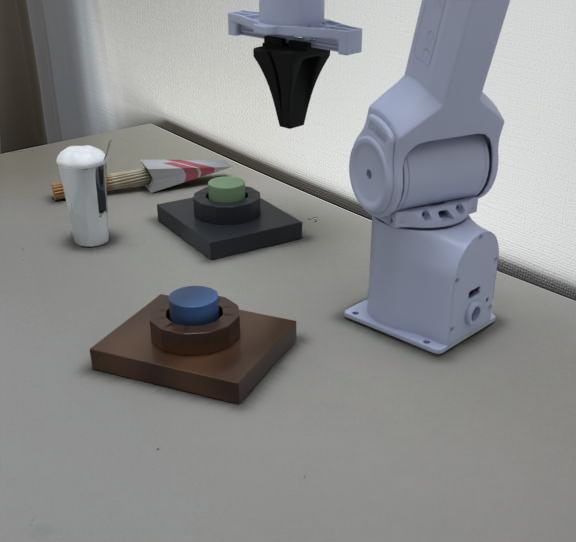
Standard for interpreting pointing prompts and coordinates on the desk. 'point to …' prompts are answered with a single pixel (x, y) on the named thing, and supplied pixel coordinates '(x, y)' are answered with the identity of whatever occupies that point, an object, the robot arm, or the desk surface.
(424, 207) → the robot arm
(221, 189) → the green button
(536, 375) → the desk surface
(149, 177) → the paintbrush
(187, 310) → the blue button
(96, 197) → the milkshake
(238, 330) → the wooden base push button
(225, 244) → the black square button base
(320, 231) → the desk surface
